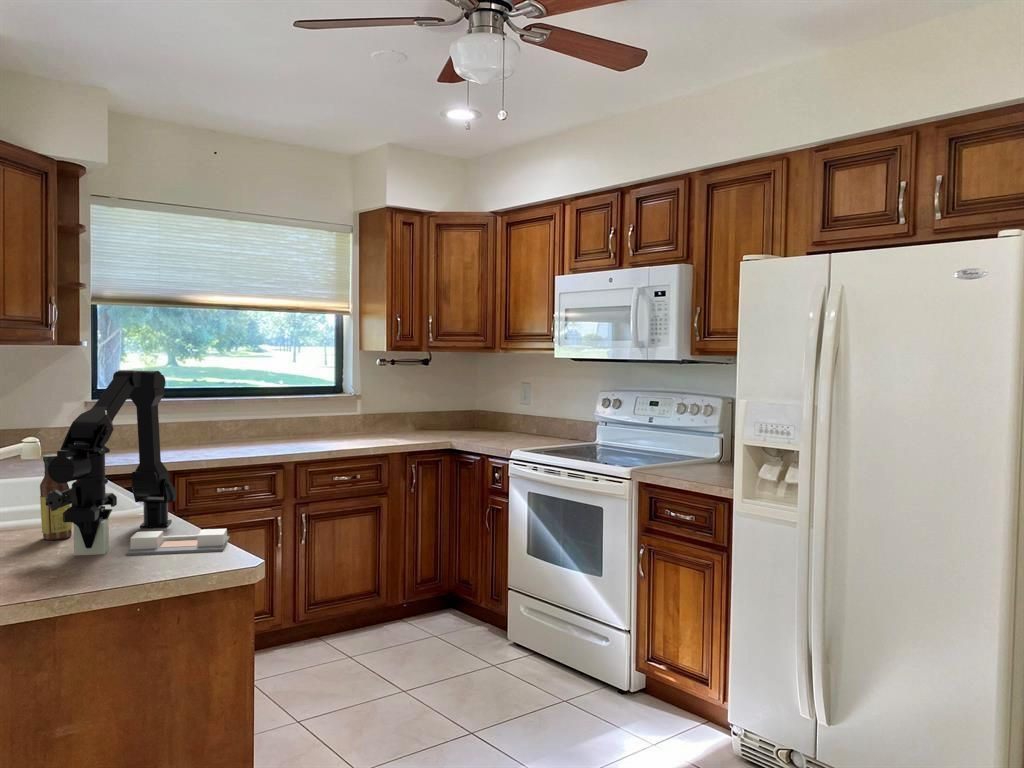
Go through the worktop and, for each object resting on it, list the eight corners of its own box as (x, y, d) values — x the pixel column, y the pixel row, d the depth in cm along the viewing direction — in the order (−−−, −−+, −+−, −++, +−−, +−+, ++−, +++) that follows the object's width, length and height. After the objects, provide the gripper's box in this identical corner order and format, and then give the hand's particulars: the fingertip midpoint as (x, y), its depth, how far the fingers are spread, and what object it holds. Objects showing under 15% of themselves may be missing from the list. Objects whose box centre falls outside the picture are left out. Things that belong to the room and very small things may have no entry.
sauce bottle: (77, 534, 191) (76, 453, 190) (63, 541, 185) (62, 456, 184) (49, 534, 191) (48, 452, 190) (35, 540, 185) (33, 456, 184)
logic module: (79, 550, 176) (79, 519, 176) (108, 549, 178) (108, 518, 177) (74, 555, 173) (73, 523, 172) (103, 554, 174) (103, 522, 174)
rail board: (139, 542, 185) (139, 529, 185) (229, 538, 189) (229, 525, 189) (126, 555, 173) (126, 541, 173) (222, 551, 178) (222, 537, 177)
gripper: (64, 470, 182) (65, 537, 182) (34, 484, 164) (36, 558, 164) (117, 468, 184) (117, 535, 185) (93, 482, 166) (94, 555, 167)
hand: (91, 545), depth 175 cm, fingers closed on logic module, 4 cm apart
